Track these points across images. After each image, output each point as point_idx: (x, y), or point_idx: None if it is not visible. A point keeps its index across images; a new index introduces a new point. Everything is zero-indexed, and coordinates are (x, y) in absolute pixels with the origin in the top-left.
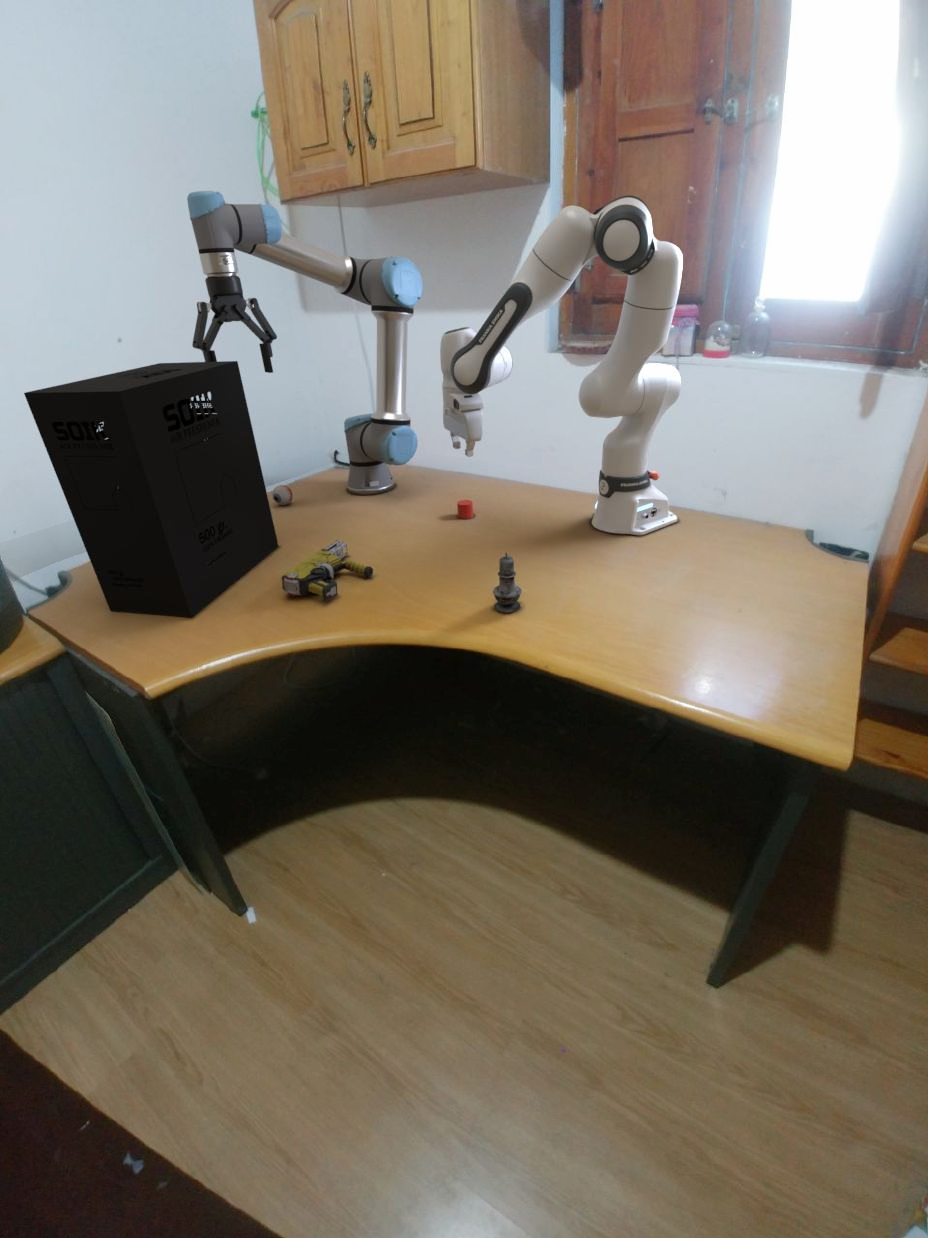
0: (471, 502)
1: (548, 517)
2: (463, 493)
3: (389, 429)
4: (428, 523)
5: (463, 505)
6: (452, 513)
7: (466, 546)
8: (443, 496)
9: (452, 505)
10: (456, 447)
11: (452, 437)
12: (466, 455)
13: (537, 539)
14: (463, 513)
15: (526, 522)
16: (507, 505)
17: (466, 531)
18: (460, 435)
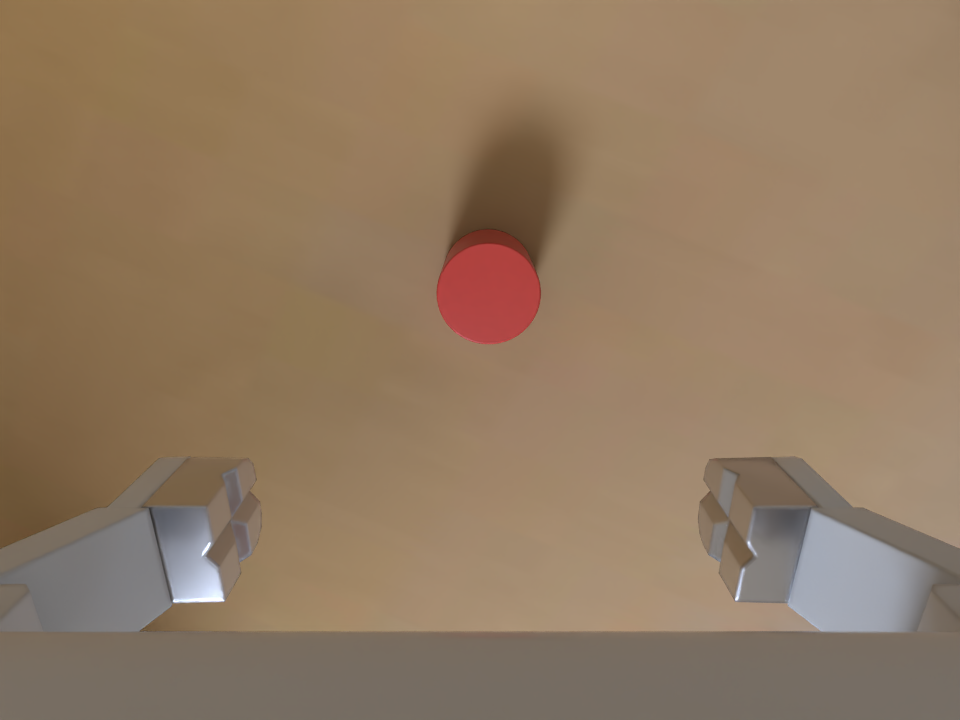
0: (463, 331)
1: (288, 601)
2: (856, 402)
3: None
4: (485, 7)
5: (444, 267)
6: (575, 221)
7: (27, 102)
8: (896, 279)
9: (706, 271)
10: (714, 485)
11: (905, 560)
12: (206, 457)
13: (38, 458)
14: (449, 254)
15: (264, 502)
16: (529, 521)
17: (253, 189)
18: (26, 665)
